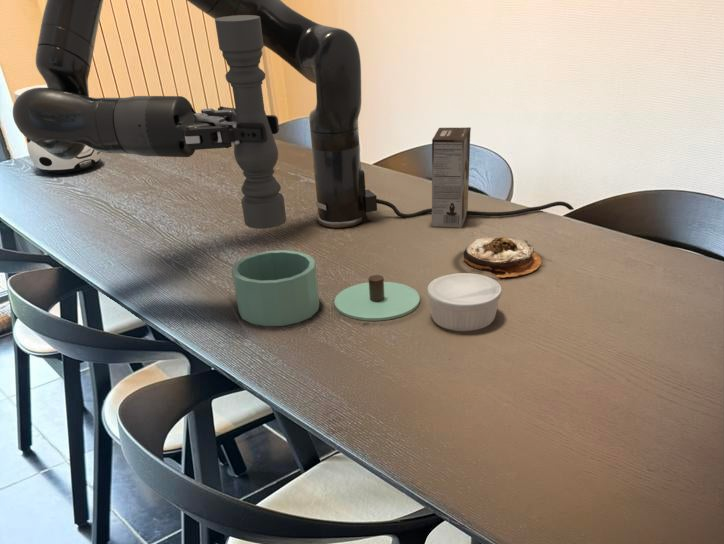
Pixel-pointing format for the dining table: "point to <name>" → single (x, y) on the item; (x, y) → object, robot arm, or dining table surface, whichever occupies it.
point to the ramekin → (464, 301)
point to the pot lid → (377, 300)
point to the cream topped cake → (502, 256)
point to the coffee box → (450, 176)
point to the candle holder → (251, 120)
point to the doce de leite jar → (52, 163)
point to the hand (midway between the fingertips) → (271, 128)
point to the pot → (276, 287)
